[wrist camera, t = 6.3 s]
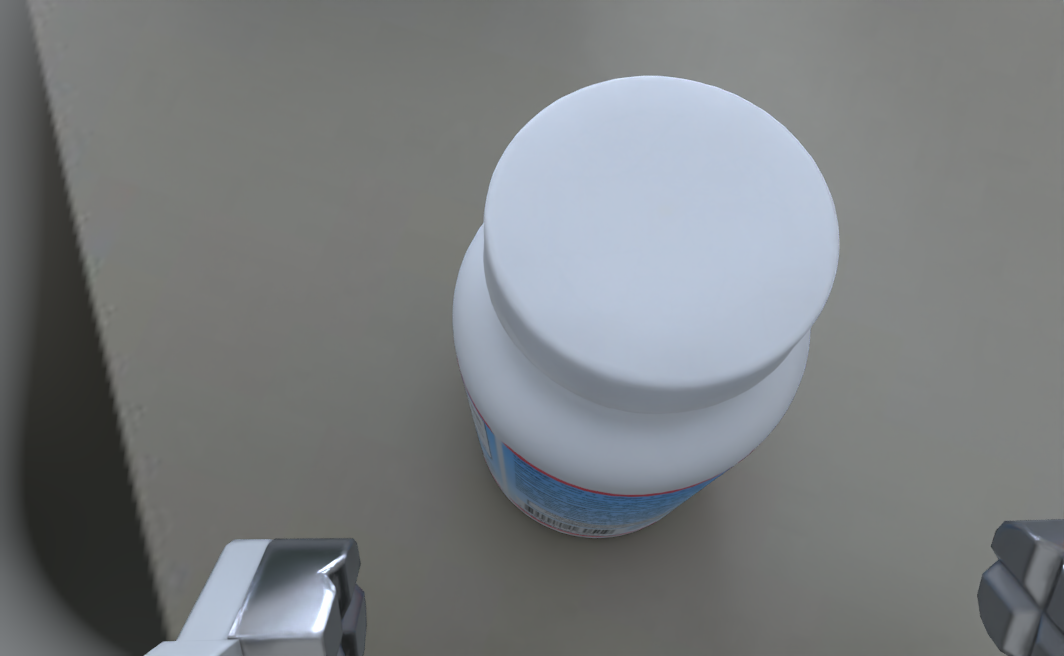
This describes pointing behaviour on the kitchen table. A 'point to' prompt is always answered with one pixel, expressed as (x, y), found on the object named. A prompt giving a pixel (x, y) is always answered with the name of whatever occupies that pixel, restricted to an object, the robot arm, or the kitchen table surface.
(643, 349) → the pill bottle
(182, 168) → the kitchen table surface
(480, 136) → the kitchen table surface
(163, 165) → the kitchen table surface
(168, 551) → the kitchen table surface
